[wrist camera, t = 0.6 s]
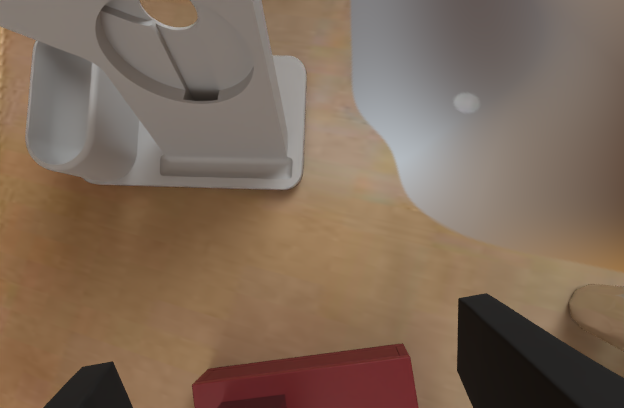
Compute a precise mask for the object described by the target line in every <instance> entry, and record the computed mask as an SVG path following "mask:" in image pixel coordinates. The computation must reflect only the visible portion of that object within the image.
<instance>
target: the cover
mask: <svg viewBox="0 0 624 408" xmlns="http://www.w3.org/2000/svg"><path fill="white" fill-rule="evenodd" d="M192 389H193V398H194V406H195V408H217V407H218V406H219V405H220V403H221V402H227V401H235V400H243V399H251V398H259V397H267V396H275V395H283V394H285V399H286V406H287V408H418V402H417V396H416V390H415V384H414V377H413V371H412V365H411V359H410V356H409V355H404V356H396V357H388V358H380V359H372V360H365V361H357V362H349V363H341V364H334V365H326V366H318V367H310V368H302V369H295V370H287V371H279V372H271V373H263V374H256V375H248V376H240V377H232V378H225V379H217V380H209V381H201V382H195V383H193V384H192Z"/></svg>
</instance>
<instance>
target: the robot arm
mask: <svg viewBox="0 0 624 408" xmlns="http://www.w3.org/2000/svg"><path fill="white" fill-rule="evenodd" d="M457 371H458V374H459V376H460V378H461V381H462V383H463V385H464V388H465V390H466V392H467V395H468V397H469V399H470V401H471V404H472V406H473V408H624V378H623V377H621V376H619V375H617V374H616V373H614V372H612V371H610V370H609V369H607V368H605V367H604V366H602V365H600V364H598V363H597V362H595V361H593V360H592V359H590V358H588V357H587V356H585V355H583V354H582V353H580V352H579V351H577V350H575V349H574V348H572V347H570V346H569V345H567V344H566V343H564V342H562V341H561V340H559V339H558V338H556V337H554V336H553V335H551V334H550V333H548V332H547V331H545V330H543V329H542V328H540V327H539V326H537V325H536V324H534V323H532V322H531V321H529V320H528V319H526V318H525V317H523V316H522V315H520V314H519V313H517V312H515V311H514V310H512V309H511V308H509V307H508V306H506V305H505V304H503V303H501V302H500V301H498V300H497V299H495V298H493V297H492V296H490V295H489V294H487V293H486V294H480V295H475V296H469V297H464V298H459V300H458V351H457ZM44 408H133V407H132V404H131V402H130V400H129V397H128V395H127V393H126V391H125V388H124V386H123V384H122V381H121V379H120V377H119V374H118V372H117V370H116V368H115V365H114V363H113V362H107V363H102V364H96V365H91V366H85V367H82V368H81V369H80V370H79V371H78V372H77V373H76V374H75V375H74V376H73V377H72V378H71V379H70V380H69V381H68V382H67V383H66V384H65V385H64V386H63V387H62V388H61V389H60V390H59V391H58V392H57V394H56V395H55V396H54V397H53V398H52V399H51V400H50V401H49V402H48V403H47V404H46V405H45V406H44Z"/></svg>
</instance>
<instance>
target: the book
mask: <svg viewBox="0 0 624 408" xmlns="http://www.w3.org/2000/svg"><path fill="white" fill-rule="evenodd" d="M404 355H409V354H408V352H407V350H406V349H405V347H404V345H403V344H395V345H387V346H380V347H372V348H364V349H357V350H349V351H341V352H334V353H326V354H318V355H311V356H303V357H295V358H288V359H280V360H272V361H265V362H257V363H249V364H241V365H234V366H226V367H218V368H211V369H208V370H207V371H206V372H205V373H204V374H203V375H202V376H201V377H200V378H199V379H198V380H196V381H195V382H201V381H209V380H217V379H225V378H232V377H240V376H248V375H256V374H263V373H271V372H279V371H287V370H295V369H302V368H310V367H318V366H326V365H334V364H341V363H349V362H357V361H365V360H372V359H380V358H388V357H396V356H404Z"/></svg>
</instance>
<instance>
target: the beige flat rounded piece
mask: <svg viewBox="0 0 624 408" xmlns="http://www.w3.org/2000/svg"><path fill="white" fill-rule="evenodd" d="M569 308H570V315H571V318H572V319H573V320H574V321H575V322H576V323H577V324H578V325H579V326H580V328H581V329H583V330H584V331H586V332H588V333H590V334H592V335H594V336H596V337H597V338H599V339H601V340H603V341H605V342H607V343H608V344H610V345H612V346H614V347H616V348H618V349H620V350H621V351H623V352H624V286H613V285H600V284H588V285H586V286H584V287H581V288H579V289H576V290H575V292H574V294H573V296H572V298H571V299H570V301H569Z"/></svg>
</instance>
